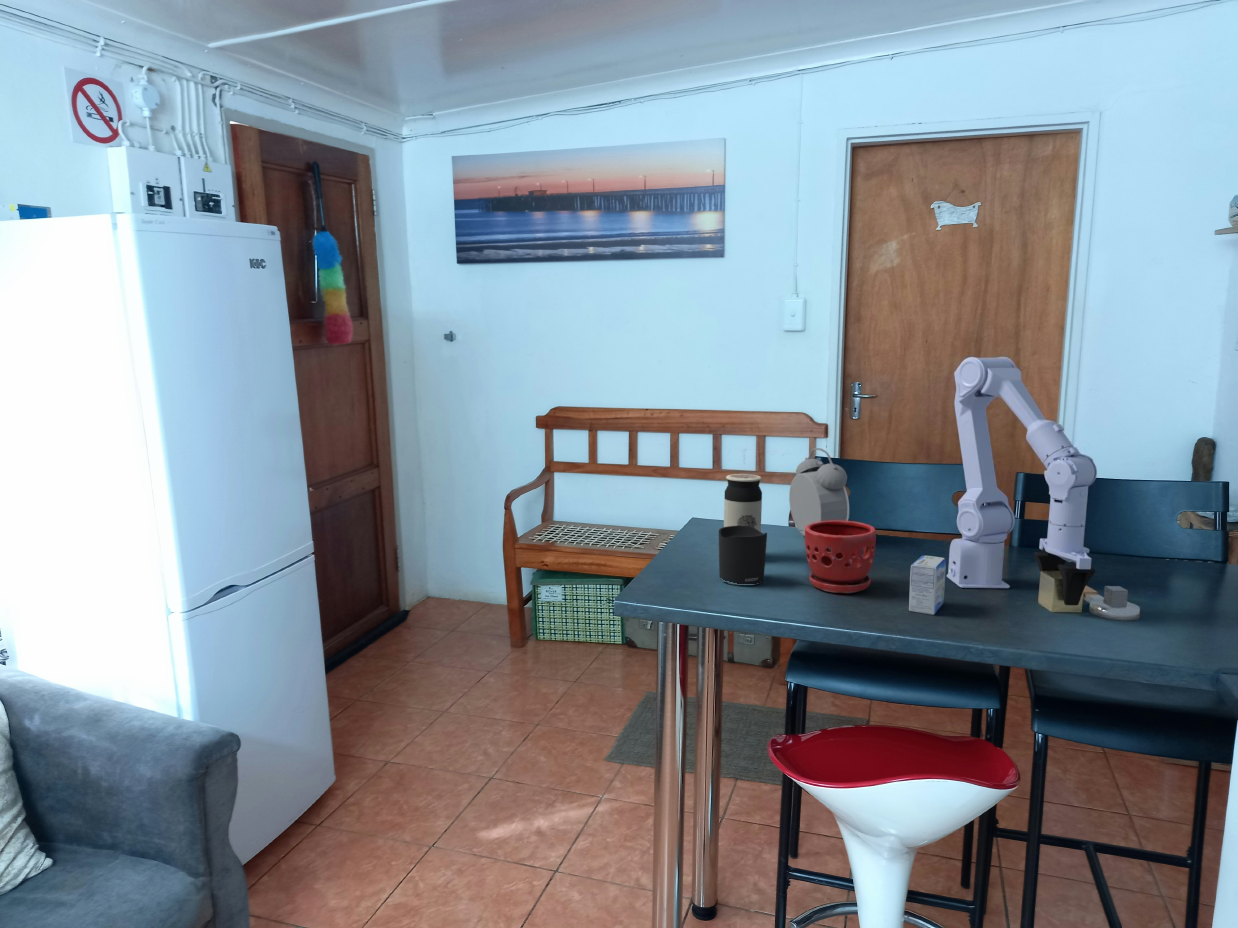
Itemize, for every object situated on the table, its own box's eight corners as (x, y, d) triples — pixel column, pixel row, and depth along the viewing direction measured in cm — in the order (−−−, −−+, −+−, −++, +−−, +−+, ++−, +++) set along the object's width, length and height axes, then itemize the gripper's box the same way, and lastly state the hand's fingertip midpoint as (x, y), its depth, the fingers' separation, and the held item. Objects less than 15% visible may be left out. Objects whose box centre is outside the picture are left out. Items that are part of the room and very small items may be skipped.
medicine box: (934, 616, 148) (937, 567, 147) (907, 611, 150) (910, 563, 149) (943, 604, 155) (946, 557, 153) (918, 600, 157) (921, 554, 156)
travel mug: (723, 552, 190) (725, 473, 188) (759, 554, 189) (762, 474, 187) (722, 562, 183) (724, 479, 180) (760, 563, 181) (763, 480, 179)
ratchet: (1148, 621, 146) (1151, 595, 145) (1103, 620, 146) (1105, 594, 146) (1093, 590, 164) (1095, 567, 163) (1053, 589, 164) (1055, 566, 163)
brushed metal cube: (1051, 611, 151) (1054, 578, 150) (1038, 602, 156) (1040, 570, 155) (1081, 612, 150) (1084, 579, 150) (1066, 603, 156) (1069, 571, 155)
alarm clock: (851, 546, 197) (856, 452, 193) (818, 549, 194) (821, 453, 191) (815, 531, 212) (819, 443, 209) (784, 533, 210) (787, 444, 207)
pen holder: (713, 584, 166) (714, 534, 165) (722, 572, 175) (723, 524, 173) (762, 589, 163) (763, 538, 162) (768, 576, 172) (770, 527, 171)
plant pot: (818, 574, 174) (820, 516, 172) (882, 585, 166) (885, 525, 164) (791, 589, 163) (794, 528, 161) (858, 601, 156) (862, 537, 154)
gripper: (1112, 533, 143) (1105, 610, 145) (1069, 515, 158) (1063, 586, 160) (1069, 532, 144) (1063, 610, 146) (1030, 515, 158) (1025, 586, 160)
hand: (1060, 598), depth 153 cm, fingers open, 7 cm apart
